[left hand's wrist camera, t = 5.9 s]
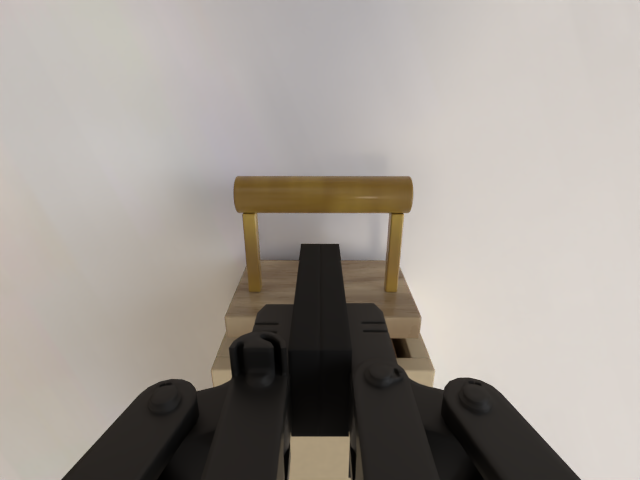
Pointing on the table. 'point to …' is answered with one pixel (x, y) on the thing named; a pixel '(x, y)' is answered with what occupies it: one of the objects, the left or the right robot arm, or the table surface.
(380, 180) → the drawer
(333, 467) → the wooden box
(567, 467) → the left robot arm
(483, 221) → the table surface
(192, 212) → the table surface
